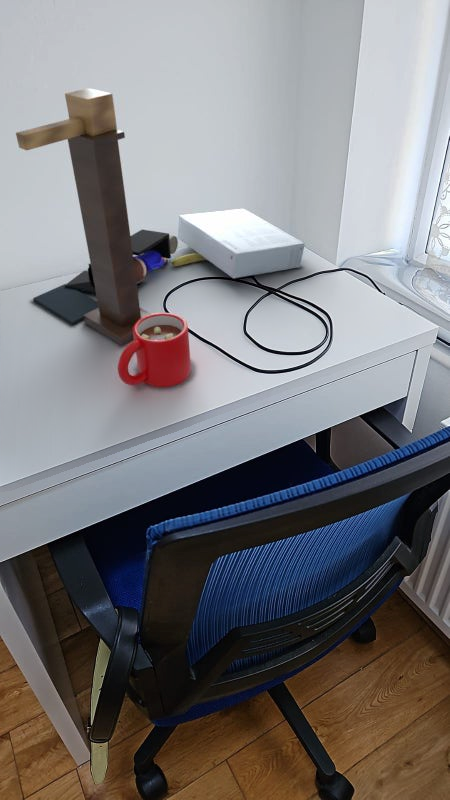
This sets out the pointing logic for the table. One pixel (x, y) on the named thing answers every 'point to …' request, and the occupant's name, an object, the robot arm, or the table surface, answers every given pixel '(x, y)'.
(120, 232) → the stand
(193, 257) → the banana
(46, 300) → the mat
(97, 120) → the wooden toy mallet
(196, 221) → the skincare box
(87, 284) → the black angular block
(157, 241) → the figurine character
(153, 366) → the mug
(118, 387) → the table surface
